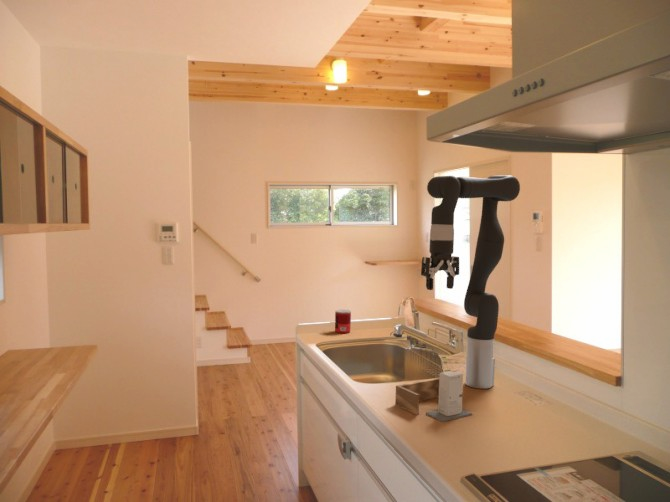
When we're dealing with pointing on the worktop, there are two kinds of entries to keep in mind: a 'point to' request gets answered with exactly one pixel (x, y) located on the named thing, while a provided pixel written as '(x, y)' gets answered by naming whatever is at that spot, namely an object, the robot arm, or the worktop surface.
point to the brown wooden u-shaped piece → (416, 394)
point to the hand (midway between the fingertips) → (439, 289)
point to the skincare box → (450, 393)
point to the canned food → (342, 321)
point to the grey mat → (443, 418)
